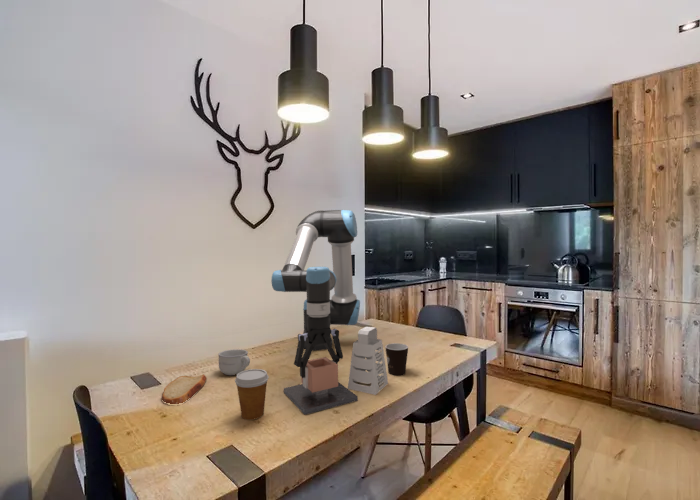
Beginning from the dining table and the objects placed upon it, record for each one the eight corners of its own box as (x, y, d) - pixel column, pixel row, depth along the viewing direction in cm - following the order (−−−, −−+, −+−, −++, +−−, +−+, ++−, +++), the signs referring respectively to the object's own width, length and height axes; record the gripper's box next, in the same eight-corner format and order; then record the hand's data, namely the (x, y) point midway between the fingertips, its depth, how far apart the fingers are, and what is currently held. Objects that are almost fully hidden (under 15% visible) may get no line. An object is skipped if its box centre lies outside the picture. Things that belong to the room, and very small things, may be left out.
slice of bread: (171, 409, 112) (171, 397, 112) (147, 393, 124) (147, 382, 123) (224, 390, 126) (224, 379, 125) (198, 377, 137) (198, 367, 137)
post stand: (283, 392, 122) (283, 367, 122) (331, 381, 131) (331, 358, 131) (304, 414, 107) (304, 386, 106) (357, 400, 116) (357, 374, 115)
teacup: (213, 373, 141) (213, 352, 140) (238, 365, 149) (238, 346, 148) (232, 382, 131) (231, 360, 131) (258, 374, 139) (257, 353, 139)
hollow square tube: (301, 382, 121) (300, 361, 120) (325, 377, 125) (325, 356, 125) (312, 392, 113) (311, 370, 112) (338, 386, 117) (337, 364, 117)
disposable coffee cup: (270, 419, 104) (269, 378, 104) (235, 425, 101) (234, 382, 101) (268, 405, 113) (267, 366, 113) (235, 409, 110) (234, 370, 110)
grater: (388, 383, 129) (387, 327, 128) (375, 394, 120) (375, 334, 119) (361, 378, 134) (361, 324, 133) (347, 388, 125) (346, 330, 124)
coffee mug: (407, 377, 134) (407, 350, 134) (384, 376, 136) (384, 349, 135) (409, 366, 145) (409, 341, 145) (387, 365, 147) (387, 340, 147)
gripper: (290, 321, 109) (291, 395, 110) (353, 313, 120) (354, 380, 121) (282, 316, 116) (283, 386, 117) (342, 309, 127) (343, 373, 127)
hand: (319, 383), depth 119 cm, fingers closed on hollow square tube, 9 cm apart
